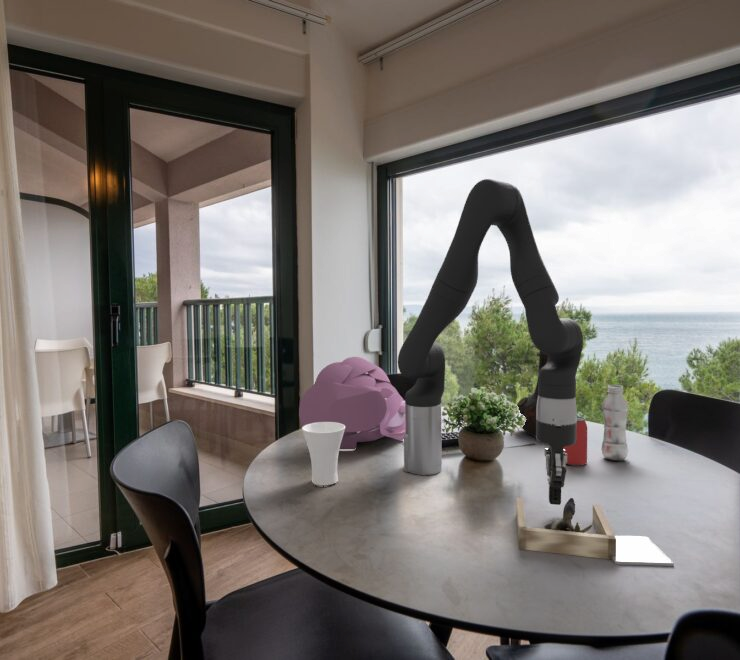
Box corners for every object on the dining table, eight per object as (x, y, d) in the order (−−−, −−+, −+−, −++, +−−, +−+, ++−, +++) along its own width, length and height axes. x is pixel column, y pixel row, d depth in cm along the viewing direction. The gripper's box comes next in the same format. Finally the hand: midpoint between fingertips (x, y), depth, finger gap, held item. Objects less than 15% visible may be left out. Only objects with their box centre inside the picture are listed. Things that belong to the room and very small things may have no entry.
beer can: (589, 467, 126) (590, 421, 125) (562, 465, 127) (563, 420, 126) (583, 459, 132) (584, 415, 132) (558, 458, 134) (558, 414, 133)
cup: (355, 481, 118) (354, 426, 118) (322, 493, 111) (321, 435, 110) (326, 471, 126) (325, 419, 125) (294, 482, 118) (292, 427, 117)
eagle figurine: (603, 542, 84) (583, 511, 93) (583, 512, 83) (564, 483, 92) (564, 563, 86) (548, 530, 94) (544, 533, 84) (529, 503, 93)
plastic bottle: (602, 461, 130) (603, 387, 129) (600, 454, 136) (601, 383, 135) (629, 464, 127) (630, 388, 126) (626, 456, 134) (627, 384, 132)
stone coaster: (615, 564, 79) (615, 561, 79) (595, 537, 88) (595, 535, 88) (673, 566, 79) (673, 563, 79) (646, 539, 88) (647, 536, 88)
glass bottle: (511, 427, 167) (512, 345, 166) (566, 428, 165) (567, 345, 163) (520, 441, 149) (520, 351, 148) (581, 443, 147) (582, 350, 145)
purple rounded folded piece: (370, 441, 170) (361, 361, 174) (429, 437, 157) (418, 350, 161) (300, 457, 142) (291, 361, 146) (365, 455, 128) (353, 349, 132)
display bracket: (519, 549, 85) (519, 529, 85) (516, 514, 99) (516, 497, 98) (616, 559, 81) (616, 539, 81) (599, 522, 95) (599, 504, 94)
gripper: (534, 410, 104) (533, 488, 106) (538, 425, 92) (537, 515, 93) (571, 411, 103) (570, 492, 104) (581, 428, 90) (579, 519, 91)
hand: (554, 503), depth 98 cm, fingers closed
